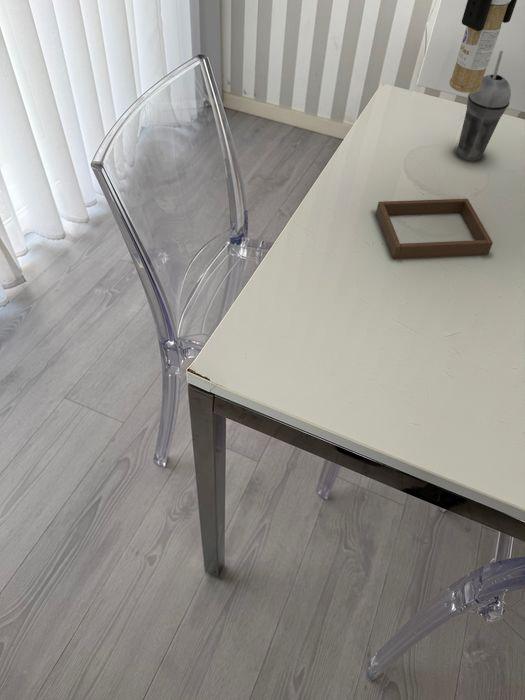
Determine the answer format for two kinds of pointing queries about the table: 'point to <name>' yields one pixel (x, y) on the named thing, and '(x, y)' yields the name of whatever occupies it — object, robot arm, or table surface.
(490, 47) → the sprinkles bottle
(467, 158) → the beverage cup
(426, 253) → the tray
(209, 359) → the table surface
